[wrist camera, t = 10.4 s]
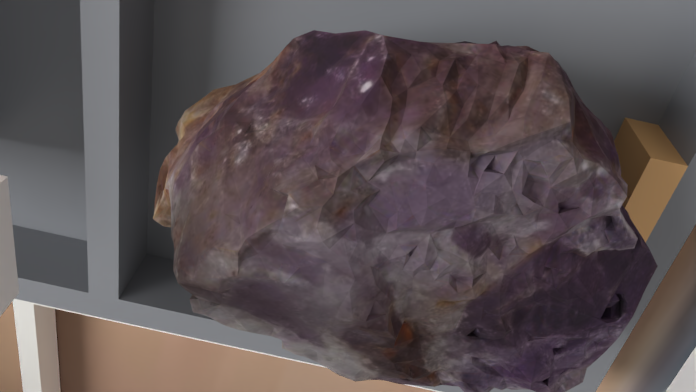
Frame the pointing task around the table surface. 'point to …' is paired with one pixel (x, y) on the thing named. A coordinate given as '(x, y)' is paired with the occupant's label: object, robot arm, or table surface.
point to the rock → (408, 213)
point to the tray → (55, 346)
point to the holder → (250, 59)
